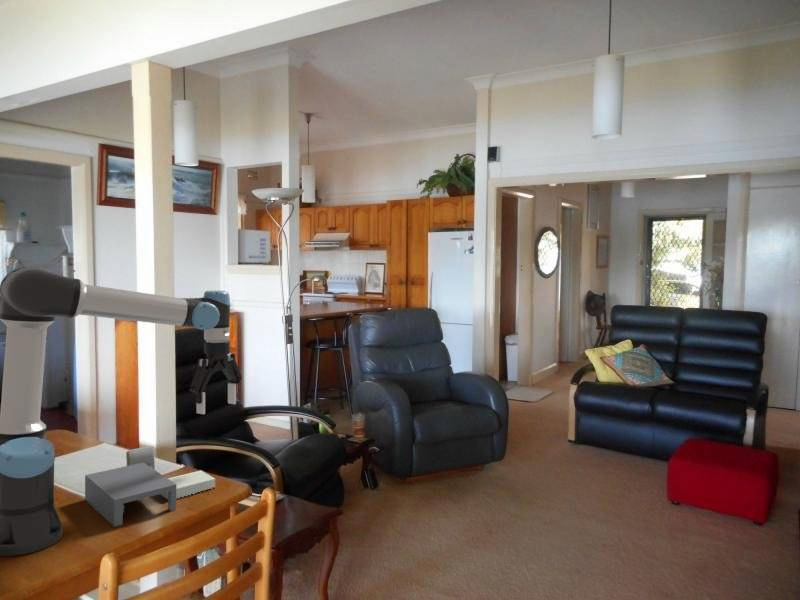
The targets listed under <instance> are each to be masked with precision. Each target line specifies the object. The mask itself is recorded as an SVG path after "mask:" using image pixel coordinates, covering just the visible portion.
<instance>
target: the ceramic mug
mask: <svg viewBox="0 0 800 600" xmlns="http://www.w3.org/2000/svg"><path fill="white" fill-rule="evenodd" d="M154 447H155V446H153V445H149V446H144V447H138V448H133V449H129V450H127V451H126V459H125V460H126V466H130V465H134V464H139V463H145V464H146V465H148V466H149V467H151V468H152V469H154V470H155V471H156V468H155V467H156V465H155V463H156V462H155V459H156V458H155V448H154Z"/></svg>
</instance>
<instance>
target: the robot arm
mask: <svg viewBox="0 0 800 600" xmlns="http://www.w3.org/2000/svg"><path fill="white" fill-rule="evenodd" d="M0 299H1V302H0V303H1V304H0V321H1V322H2V324H4V325H5V326H6V334H5V335H6V337H5V348H4V359H3V373H2V374H3V375H2V386H1V387H2V388H1V398H0V399H1V401H0V557H15V556H16V557H17V556H22V555H27V554H31V553H35V552H38V551H41V550H44V549H46V548H49V547H51V546H53V545H54V544H55V543H57V542H58V541H59V540H61V538H62V537H63V523H62V521H61V519H60V516H59V513H58V511H57V508H56V506H55V461H56V460H55V459H56V453H55V447H54V444H53V443H52V442H51V441H50V440H49V439H46V438H47V437H46V436H47V435H46V434H47V433H46V432H47V424H45V422H43V421H42V420H41V411H42V399H43V386H44V373H45V371H44V370H45V362H46V361H45V358H46V346H47V333H48V327H50V326H51V325H52V324H54V323H55V317H57V318H58V317H59V318H69V319H70V318H71V319H75V318H76V317H78V316H79V315H82V316H89V317H98V318H105V319H106V318H107V319H113V320H114V319H115V320H122V321H123V320H124V321H134V322H141V323H151V324H161V325H168V326H177V327H185V328H193V329H197V330H201V331H203V339H204V340H205V341H204V343H203V348H204V349H203V353H204V354H205V358H198V360H197V363H196V364H197V366H196V370H195V372H194V375H193V378H192V380H191V384H190V386H189V391H190V392H192V393H194V395H195V397H194V399H195V400H194V403H195V404H196V414H200V415H205V414H206V391H205V392H204V390H205V389H206V387H207V385H208V383H209V381H210V380H211V378H212V376H213V375H214V374H215V373H216V372H219V371H222V373H223V374H224V376H225V378H226V379H227V380H228V381H229V382H228V383H227V404H230V405H231V404H232V405H236V404H237V389H238V384H240V383H241V380H242V378H243V377H242V374H241V371H240V369H239V366H238V364H237V361H236V354H235V353H232V352H230V351H231V349H230V348H231V344H230V343H231V342H230V341H229V340H230V325H231V324H230V317H231V314H230V313H231V310H230V309H231V298H230V293H229V292H228V291H226V290H206V291H204V293H203V297H194V298H193V297H188V298H187V297H186V298H185V297H184V298H182V297H173V296H167V295H166V296H165V295H159V294H154V293H148V292H147V293H146V292H139V291H133V290H125V289H119V288H112V287H106V286H105V287H104V286H100V285H92V284H85V283H84V282H83V281H82V279H79V278H73V277H69V276H68V277H67V276H63V275H61V274H57V273H54V272H51V271H49V270H46V269H43V268H41V267H40V268H39V267H34V266H22V267H17V268H15V269H13V270H11V271H10V272H8V273H7V274H6V275H5V276H4V277H3V279H1V281H0Z"/></svg>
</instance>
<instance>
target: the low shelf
mask: <svg viewBox="0 0 800 600" xmlns="http://www.w3.org/2000/svg"><path fill="white" fill-rule="evenodd" d="M168 478H169V477H166V476H164V475H163V474H161V473H160V472H158V471H157V470H156V469H155V470H154V469H152V468H151V467H149V466H148V465H146V464H145V463H139V464H134V465H130V466H127V465H126V466H121V467H116V468H111V469H108V470H102V471H98V472H93V473H89V474H85V475H84V479H85V481H84V483H85V484H84V500H85V501H86V502H87V503H88V504H89V505H90V506H91V507H92V508H94V510H95V511H97V513H99V514H100V515H101V516H102V517H103V518H104V519H105V521H108V523H110V525H112V527H114V528H116V527H120V526H122V525H124V521H123V520H124V519H123V517H124V516H123V515H124V514H123V513H124V512H123V504H127V503H131V502H134V501H135V502H136V501H139V500H143V499H146V498H151V497H154V496H157V495H160V494H162V493H166V492H168V500H167V504H168V505H167V506H168V507H167V509H168V510H169V511H170V512H172V511H176V510H177V499H176V484H175V483H174V482H172V481H171V480H169V479H168ZM175 509H176V510H175Z"/></svg>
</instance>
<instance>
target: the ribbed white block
mask: <svg viewBox="0 0 800 600" xmlns="http://www.w3.org/2000/svg"><path fill="white" fill-rule="evenodd" d="M167 478H168V479H169V480H171V481H172V482H174V483H175V484H176V500H178V499H181V498H180V497H182V498H185V497H184V496H186V497H188V495H189V496H192V495H191V494H193V495H196V494H195V493H197V492H200V491H203V490H207V489H210V488H212V487H215V488H216V478H215V477H213V476H211V475H210V474H208V473H206V472H205V471H203V470H201V469H200V470H198V471H197V470H196V471H194V472H193V471H192V472H189V473H185V474H180V475H177V476H173V477H172V476H171V477H167ZM200 493H201V492H200ZM197 494H198V493H197ZM159 495H160V496H162V497H163V498H164V499H165V500H167V501H168V492H166V493H162V494H159ZM177 498H178V499H177Z"/></svg>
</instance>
